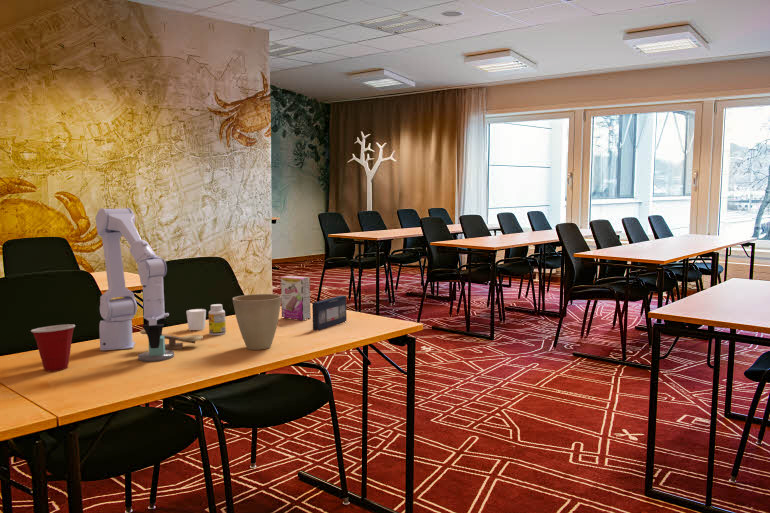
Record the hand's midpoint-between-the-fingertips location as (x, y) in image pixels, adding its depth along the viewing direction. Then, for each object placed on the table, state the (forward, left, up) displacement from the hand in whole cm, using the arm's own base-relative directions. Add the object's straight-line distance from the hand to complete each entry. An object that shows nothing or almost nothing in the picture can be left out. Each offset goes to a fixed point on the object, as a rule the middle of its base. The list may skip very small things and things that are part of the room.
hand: (155, 345), depth 181 cm
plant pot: (+30, +3, -4) cm, 30 cm away
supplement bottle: (+18, +28, -4) cm, 34 cm away
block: (0, 0, -3) cm, 3 cm away
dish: (0, 0, -4) cm, 4 cm away
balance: (+4, +11, -4) cm, 12 cm away
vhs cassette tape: (+58, +29, -4) cm, 65 cm away
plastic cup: (-26, -4, -4) cm, 27 cm away
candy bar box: (+48, +47, -4) cm, 67 cm away
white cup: (+11, +39, -4) cm, 41 cm away
